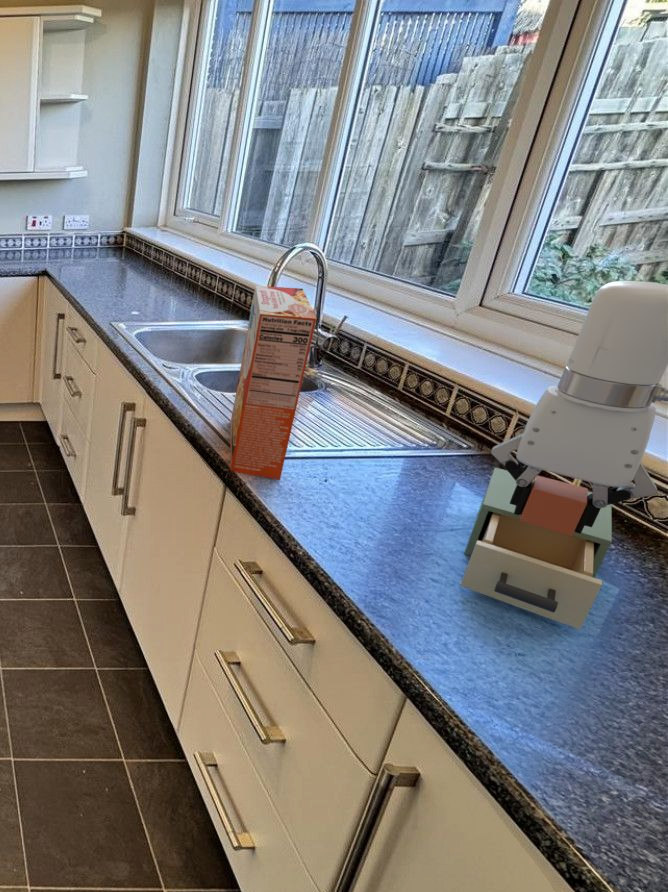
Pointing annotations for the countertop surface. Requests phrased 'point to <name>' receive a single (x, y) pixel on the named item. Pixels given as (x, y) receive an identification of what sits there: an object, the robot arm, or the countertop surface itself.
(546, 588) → the drawer
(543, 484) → the block
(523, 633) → the countertop surface
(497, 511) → the cabinet
